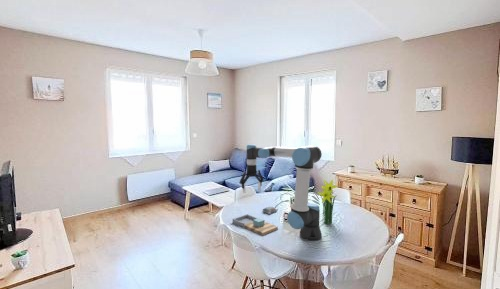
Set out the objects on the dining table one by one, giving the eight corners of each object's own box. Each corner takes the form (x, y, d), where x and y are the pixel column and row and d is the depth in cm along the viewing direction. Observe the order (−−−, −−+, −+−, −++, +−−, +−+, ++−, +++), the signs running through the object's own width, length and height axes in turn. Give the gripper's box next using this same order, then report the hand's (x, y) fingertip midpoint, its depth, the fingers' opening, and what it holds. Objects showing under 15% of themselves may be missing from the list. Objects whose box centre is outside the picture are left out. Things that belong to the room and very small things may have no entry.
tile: (264, 225, 202) (264, 219, 202) (258, 227, 198) (258, 222, 198) (258, 222, 206) (258, 217, 206) (253, 225, 202) (253, 219, 202)
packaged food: (278, 212, 235) (278, 207, 234) (269, 216, 227) (269, 210, 226) (270, 210, 241) (270, 204, 241) (261, 213, 233) (261, 208, 232)
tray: (258, 221, 214) (258, 218, 214) (243, 227, 203) (243, 223, 203) (247, 217, 223) (247, 214, 223) (232, 222, 212) (232, 219, 212)
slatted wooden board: (277, 229, 199) (277, 226, 199) (263, 235, 188) (263, 232, 188) (258, 222, 214) (258, 219, 213) (244, 227, 202) (244, 224, 202)
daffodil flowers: (331, 230, 197) (332, 183, 194) (313, 225, 207) (314, 180, 204) (341, 223, 210) (342, 179, 207) (324, 219, 219) (324, 177, 217)
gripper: (263, 162, 215) (263, 188, 217) (234, 165, 203) (235, 192, 205) (267, 163, 208) (268, 190, 210) (239, 166, 197) (239, 194, 198)
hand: (251, 191), depth 208 cm, fingers open, 13 cm apart
